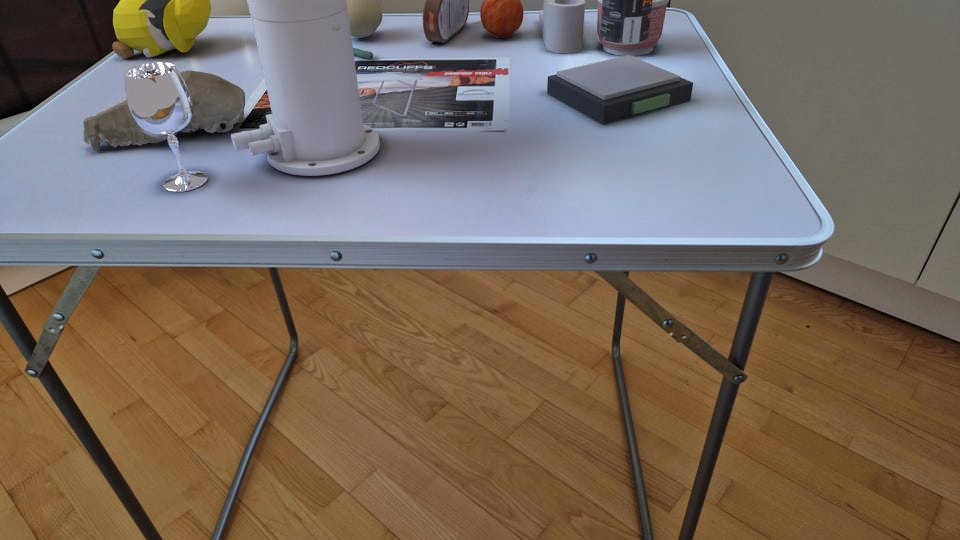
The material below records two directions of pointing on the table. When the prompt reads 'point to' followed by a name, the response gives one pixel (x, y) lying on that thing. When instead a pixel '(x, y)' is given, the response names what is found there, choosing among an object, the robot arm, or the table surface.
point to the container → (643, 47)
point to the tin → (444, 18)
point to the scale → (618, 88)
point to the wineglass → (163, 112)
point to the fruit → (501, 16)
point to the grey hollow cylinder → (562, 25)
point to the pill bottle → (625, 21)
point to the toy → (158, 25)
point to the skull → (211, 111)
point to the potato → (363, 17)
